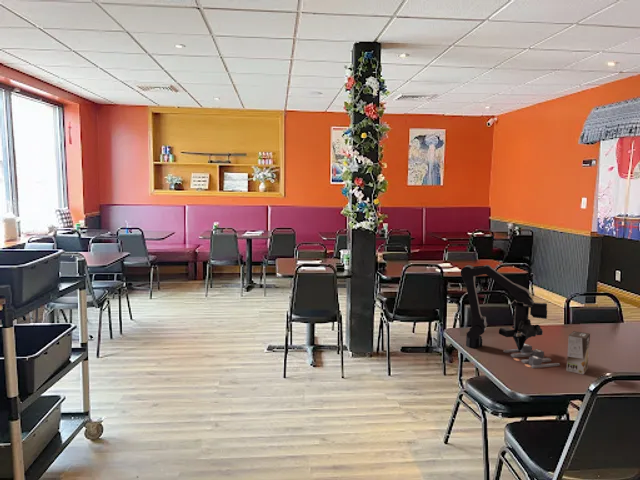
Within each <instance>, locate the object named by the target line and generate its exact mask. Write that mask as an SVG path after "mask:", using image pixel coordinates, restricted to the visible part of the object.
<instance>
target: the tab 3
mask: <svg viewBox="0 0 640 480" xmlns="http://www.w3.org/2000/svg"><path fill="white" fill-rule="evenodd" d="M528 359H529V363H528V365H530V366H532V365H539V364H542V363H543V362H542V358H540V357H538V356H533V357H531V356H528Z"/></svg>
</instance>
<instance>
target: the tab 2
mask: <svg viewBox="0 0 640 480" xmlns="http://www.w3.org/2000/svg"><path fill="white" fill-rule="evenodd" d="M533 356H538V357H540V358H545V350H542V349H537V348H535V349H532V356H530V357H533Z"/></svg>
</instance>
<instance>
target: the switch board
mask: <svg viewBox="0 0 640 480" xmlns="http://www.w3.org/2000/svg"><path fill="white" fill-rule="evenodd" d="M503 353H504V354H505V353H511V354H510V357H511V358H512V359H513V360H514V361H517V362H519V361H521V363H522V364H523V365H524V366H525V367H528V368H532V369H536V368H537V369H539V368H548V367H549V368H551V367H560V366H561V363H560V362H554V363H548V362H552V358H550V357H544V358H542V363H543V364H539V365H532V366H531V365H529V358H526V357H531V356H532V352H530V353H522V352H520V350H518V348H516V349H512V348H511V349H503ZM524 357H525V358H526V359H519V358H524Z"/></svg>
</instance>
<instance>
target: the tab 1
mask: <svg viewBox="0 0 640 480" xmlns="http://www.w3.org/2000/svg"><path fill="white" fill-rule="evenodd" d="M532 350H533V346H532V345H530V344H527V343H524V345H523V347H522V350H520V352H519V353H530V352H532Z"/></svg>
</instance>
